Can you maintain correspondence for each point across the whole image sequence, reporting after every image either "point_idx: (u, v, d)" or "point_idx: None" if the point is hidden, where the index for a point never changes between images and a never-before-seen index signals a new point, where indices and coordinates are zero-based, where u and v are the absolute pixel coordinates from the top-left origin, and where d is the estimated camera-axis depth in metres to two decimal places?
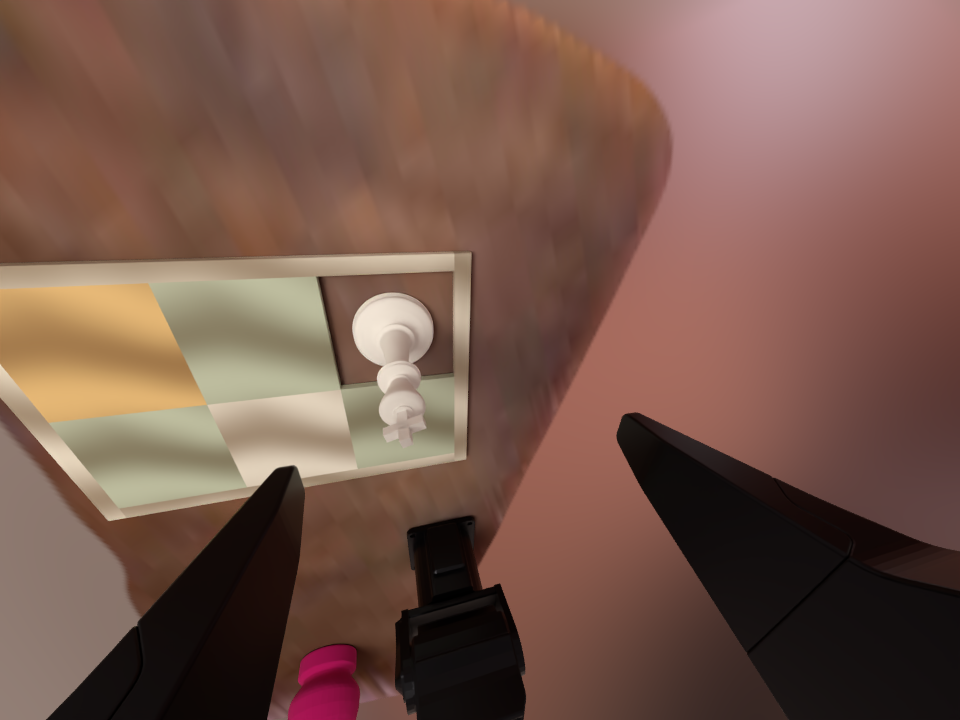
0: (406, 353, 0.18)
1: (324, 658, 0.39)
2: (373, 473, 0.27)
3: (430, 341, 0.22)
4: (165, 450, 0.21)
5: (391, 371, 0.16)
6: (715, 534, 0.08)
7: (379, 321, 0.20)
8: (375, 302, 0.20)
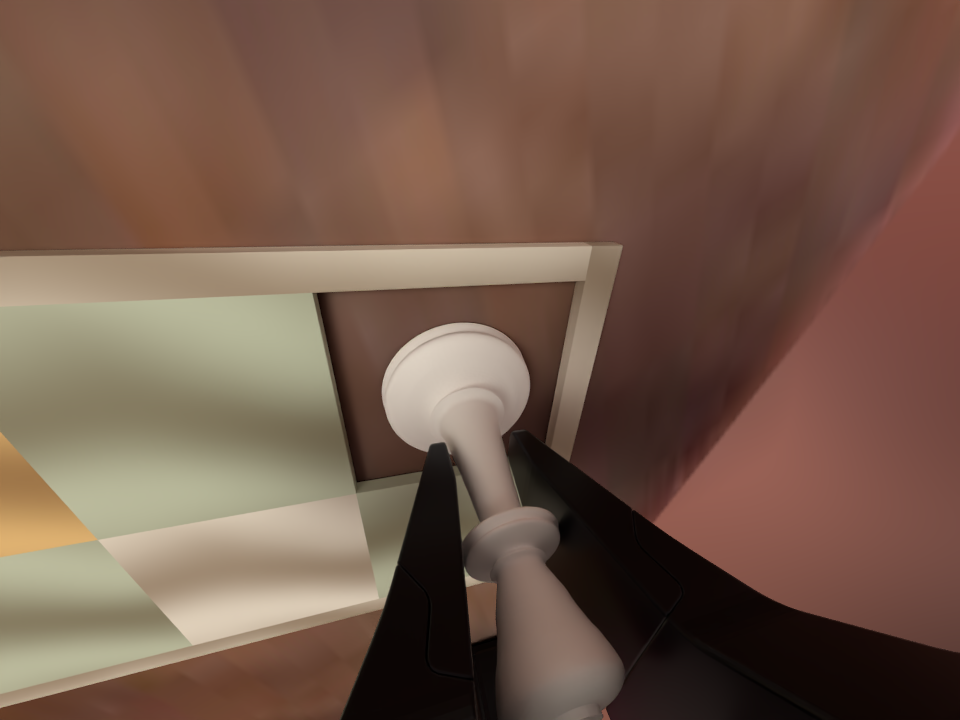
0: (506, 460, 0.09)
1: None
2: None
3: (522, 409, 0.12)
4: (26, 616, 0.11)
5: (501, 540, 0.06)
6: (575, 572, 0.07)
7: (439, 381, 0.10)
8: (431, 344, 0.10)
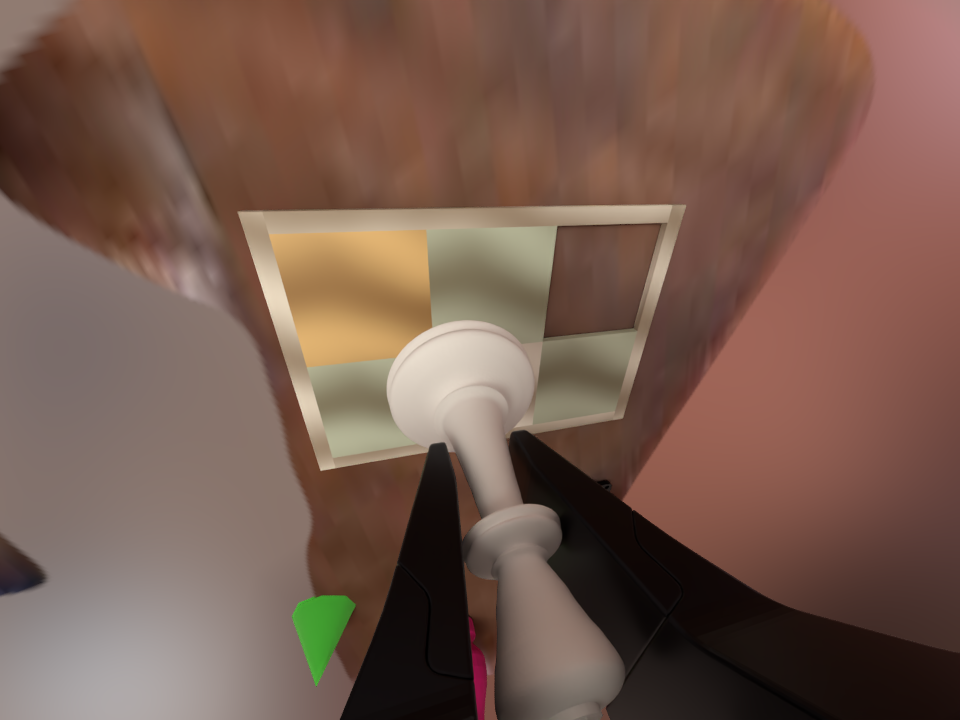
0: (509, 457, 0.09)
1: None
2: (543, 430, 0.28)
3: (527, 408, 0.12)
4: (387, 399, 0.23)
5: (503, 537, 0.06)
6: (575, 572, 0.07)
7: (443, 378, 0.10)
8: (436, 341, 0.10)
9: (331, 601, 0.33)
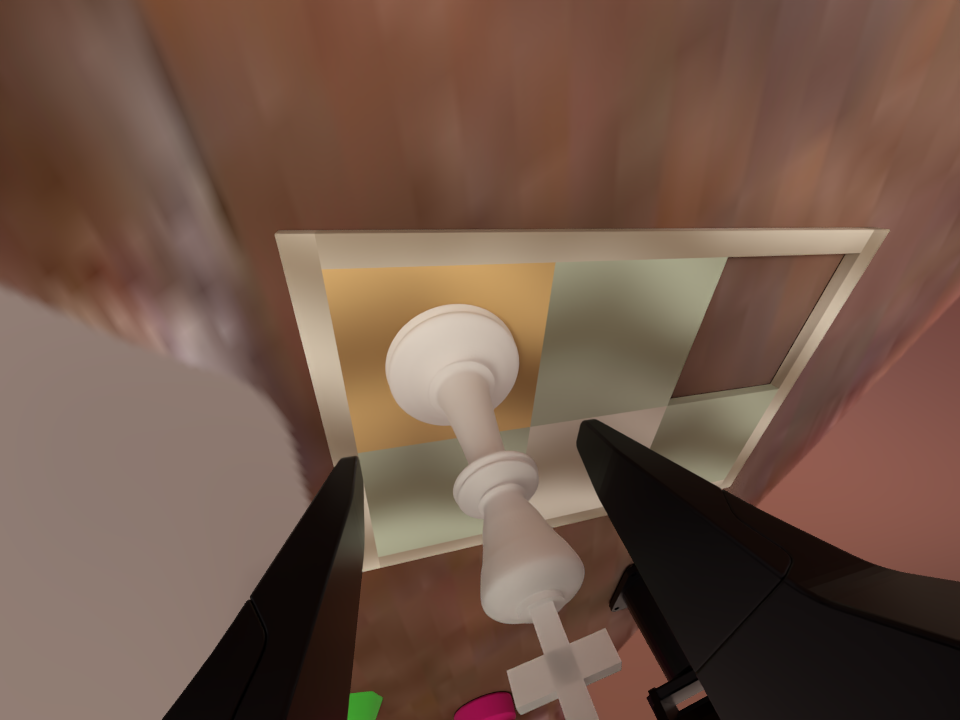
0: (495, 420, 0.10)
1: (488, 710, 0.34)
2: None
3: (512, 384, 0.13)
4: None
5: (488, 476, 0.08)
6: (664, 548, 0.07)
7: (437, 355, 0.11)
8: (430, 322, 0.11)
9: (355, 701, 0.26)
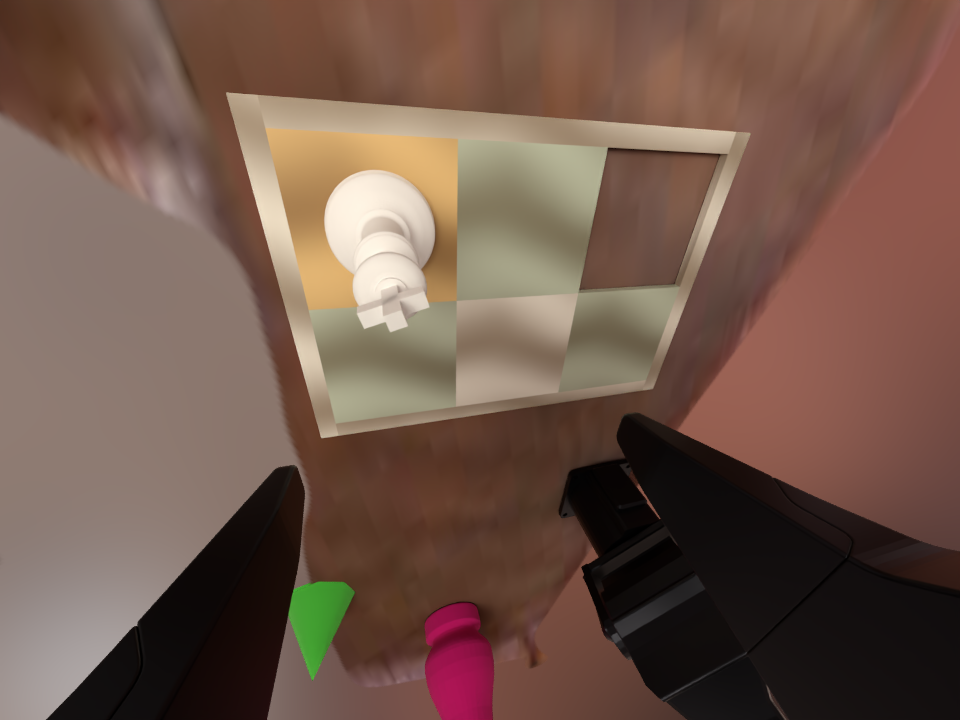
0: None
1: (454, 615, 0.37)
2: (569, 399, 0.25)
3: (431, 247, 0.16)
4: (401, 355, 0.20)
5: (374, 245, 0.11)
6: (715, 534, 0.08)
7: (361, 206, 0.14)
8: (354, 178, 0.14)
9: (328, 588, 0.30)
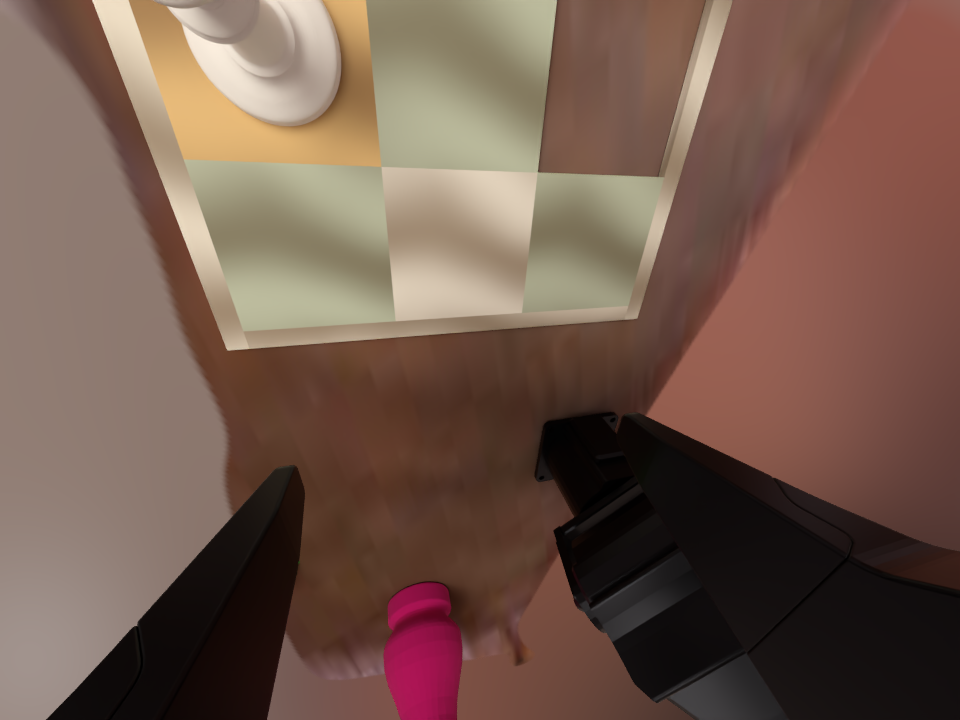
0: None
1: (420, 595, 0.33)
2: (536, 323, 0.21)
3: (332, 69, 0.13)
4: (316, 240, 0.16)
5: None
6: (715, 534, 0.08)
7: None
8: None
9: None
